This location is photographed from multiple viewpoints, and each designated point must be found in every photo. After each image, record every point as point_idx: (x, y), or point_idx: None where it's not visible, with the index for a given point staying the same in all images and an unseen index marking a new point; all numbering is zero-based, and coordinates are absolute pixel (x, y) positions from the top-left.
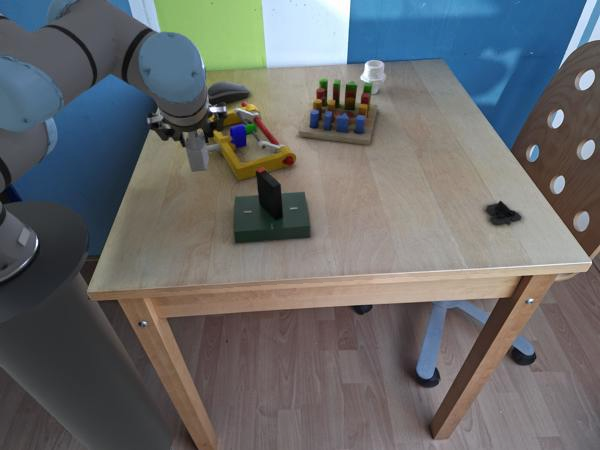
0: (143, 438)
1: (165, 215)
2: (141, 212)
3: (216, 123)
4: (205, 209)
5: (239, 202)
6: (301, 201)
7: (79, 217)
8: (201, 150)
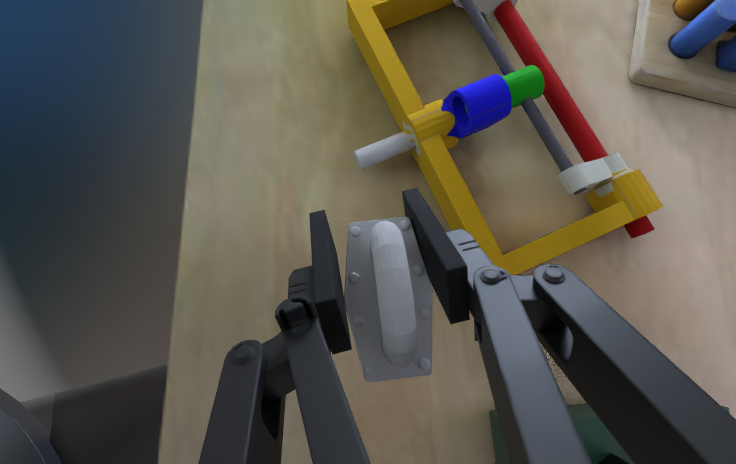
0: None
1: (286, 434)
2: None
3: (616, 428)
4: (399, 412)
5: None
6: None
7: (35, 455)
8: (430, 369)
